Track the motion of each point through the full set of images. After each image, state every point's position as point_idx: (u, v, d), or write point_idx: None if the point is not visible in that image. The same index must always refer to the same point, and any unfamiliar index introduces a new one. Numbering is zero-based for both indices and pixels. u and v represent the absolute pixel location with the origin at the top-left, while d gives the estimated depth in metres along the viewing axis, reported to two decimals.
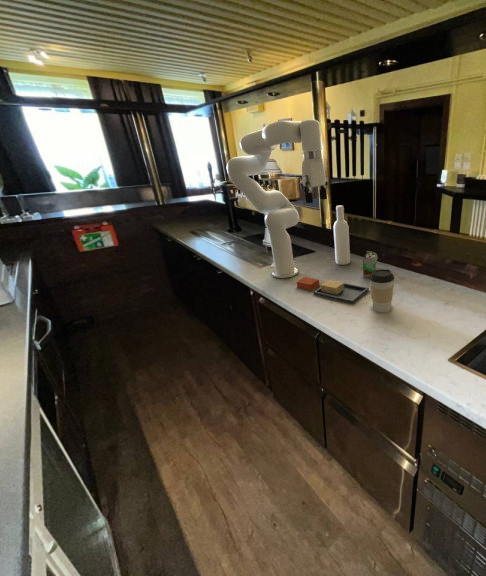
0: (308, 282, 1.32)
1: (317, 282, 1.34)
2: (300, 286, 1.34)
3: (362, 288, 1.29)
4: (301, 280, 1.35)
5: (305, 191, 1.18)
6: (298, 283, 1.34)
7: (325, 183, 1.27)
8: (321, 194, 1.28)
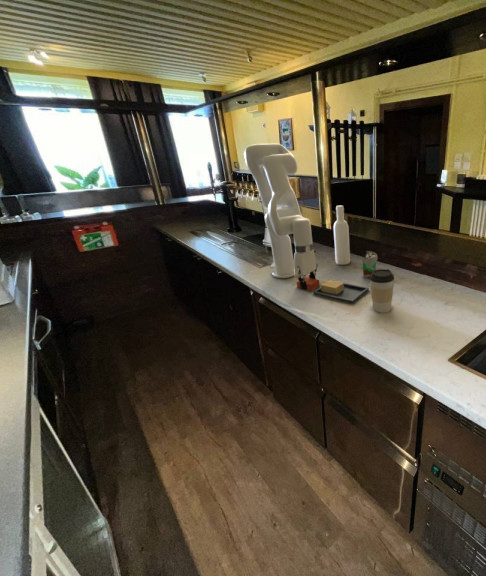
0: (308, 282, 1.32)
1: (317, 282, 1.34)
2: None
3: (362, 288, 1.29)
4: None
5: (299, 280, 1.30)
6: (298, 283, 1.34)
7: (314, 270, 1.36)
8: None
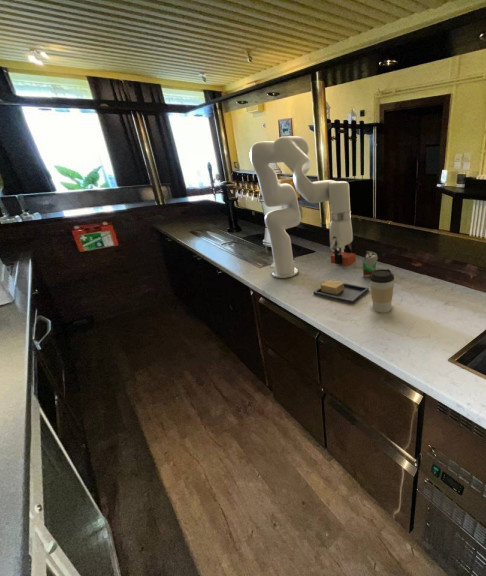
0: (344, 256, 1.18)
1: (354, 256, 1.20)
2: (334, 261, 1.19)
3: (362, 288, 1.29)
4: None
5: (335, 253, 1.15)
6: (332, 257, 1.19)
7: None
8: None
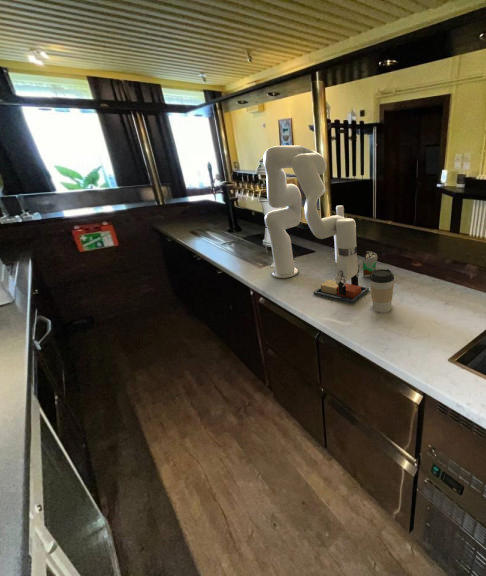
0: (350, 289, 1.23)
1: (359, 289, 1.25)
2: None
3: (362, 288, 1.29)
4: None
5: (339, 285, 1.19)
6: None
7: None
8: (352, 281, 1.28)
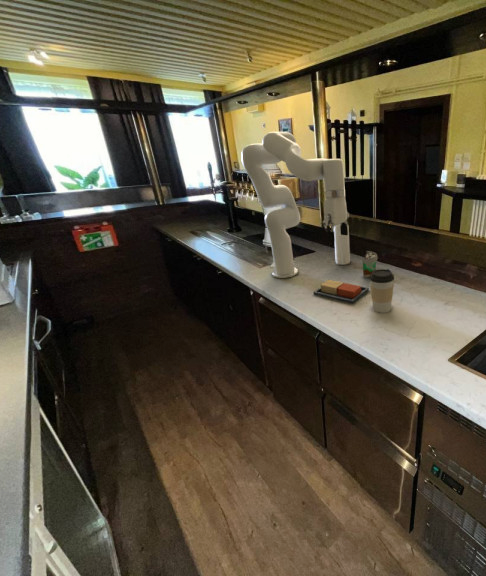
0: (350, 289, 1.23)
1: (359, 289, 1.25)
2: (341, 293, 1.24)
3: (362, 288, 1.29)
4: (342, 287, 1.25)
5: (327, 230, 1.15)
6: (339, 290, 1.24)
7: (346, 219, 1.24)
8: (342, 230, 1.25)
